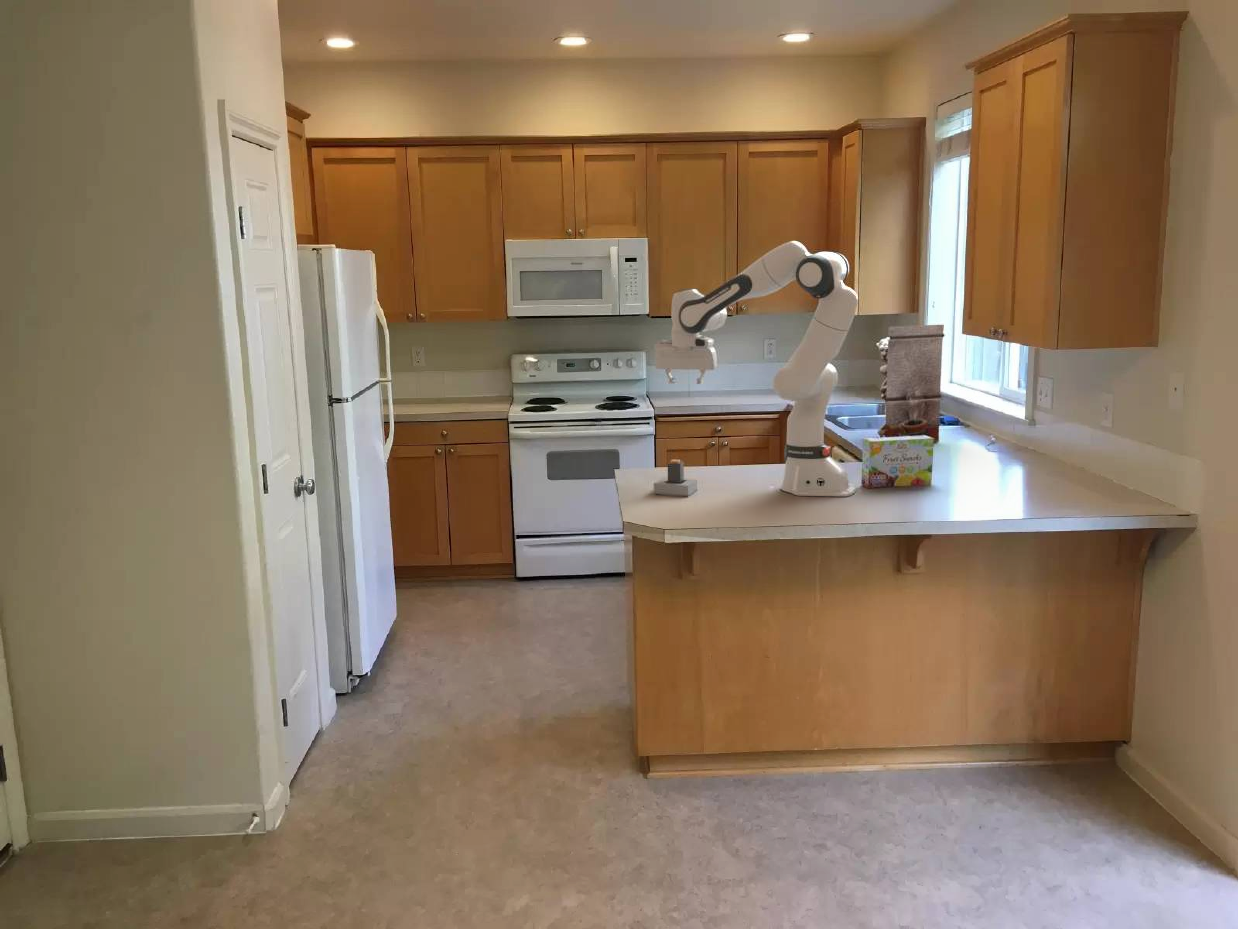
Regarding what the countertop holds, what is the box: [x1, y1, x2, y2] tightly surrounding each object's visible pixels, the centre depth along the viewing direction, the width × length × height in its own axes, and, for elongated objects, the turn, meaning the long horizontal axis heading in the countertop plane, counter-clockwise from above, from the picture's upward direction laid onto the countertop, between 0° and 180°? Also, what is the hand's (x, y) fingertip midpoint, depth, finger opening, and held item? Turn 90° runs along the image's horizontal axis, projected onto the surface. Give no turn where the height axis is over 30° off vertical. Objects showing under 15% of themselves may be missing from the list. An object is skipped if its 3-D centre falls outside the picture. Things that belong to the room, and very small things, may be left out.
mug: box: [885, 418, 927, 437], centre depth 324 cm, size 18×12×15 cm, turn 118°
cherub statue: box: [876, 324, 946, 443], centre depth 363 cm, size 23×19×45 cm
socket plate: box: [653, 477, 698, 498], centre depth 290 cm, size 11×9×4 cm
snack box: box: [860, 435, 935, 489], centre depth 292 cm, size 21×6×15 cm, turn 101°
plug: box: [667, 459, 685, 484], centre depth 289 cm, size 4×4×10 cm
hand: (685, 383), depth 305 cm, fingers open, 8 cm apart
